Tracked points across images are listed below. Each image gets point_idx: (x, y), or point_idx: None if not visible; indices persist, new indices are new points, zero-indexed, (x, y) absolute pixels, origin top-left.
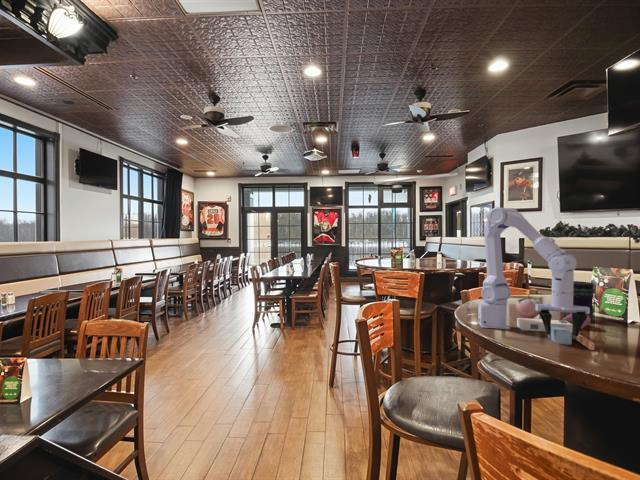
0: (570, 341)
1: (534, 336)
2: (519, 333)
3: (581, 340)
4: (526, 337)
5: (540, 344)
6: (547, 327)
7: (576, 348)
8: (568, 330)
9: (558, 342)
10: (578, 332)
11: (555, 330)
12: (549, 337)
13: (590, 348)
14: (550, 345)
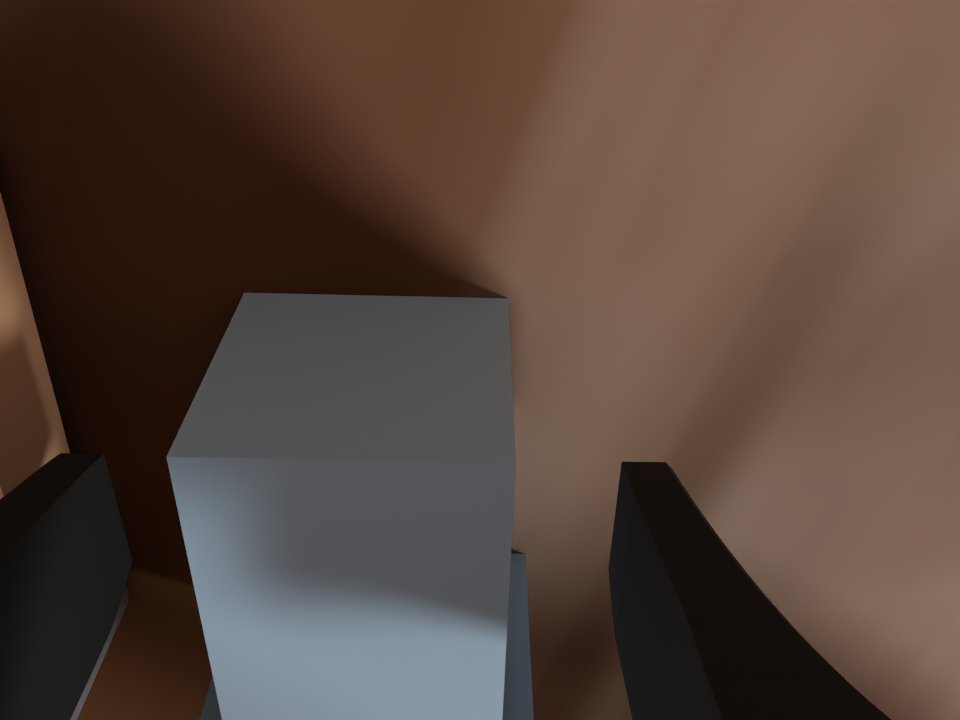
0: (249, 326)
1: None
2: (881, 711)
3: (19, 407)
4: (898, 546)
5: (897, 162)
6: (737, 565)
7: (214, 45)
8: (203, 583)
9: (479, 313)
10: (2, 503)
11: (511, 542)
12: (517, 572)
13: None
14: (707, 139)
